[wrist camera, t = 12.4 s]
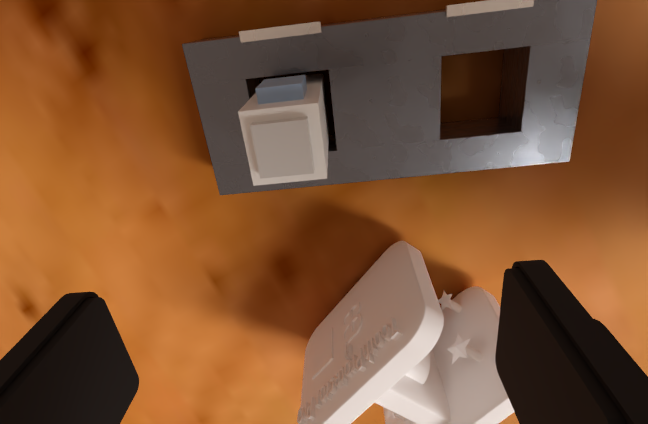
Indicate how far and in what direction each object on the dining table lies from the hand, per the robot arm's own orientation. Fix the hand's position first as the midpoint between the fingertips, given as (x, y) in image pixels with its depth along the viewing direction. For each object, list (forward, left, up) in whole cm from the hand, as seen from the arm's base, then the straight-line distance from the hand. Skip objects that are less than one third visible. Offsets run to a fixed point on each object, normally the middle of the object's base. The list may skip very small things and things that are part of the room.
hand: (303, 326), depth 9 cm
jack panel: (-4, -1, -23) cm, 23 cm away
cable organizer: (-4, +19, -23) cm, 30 cm away
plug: (+2, -1, -23) cm, 23 cm away
